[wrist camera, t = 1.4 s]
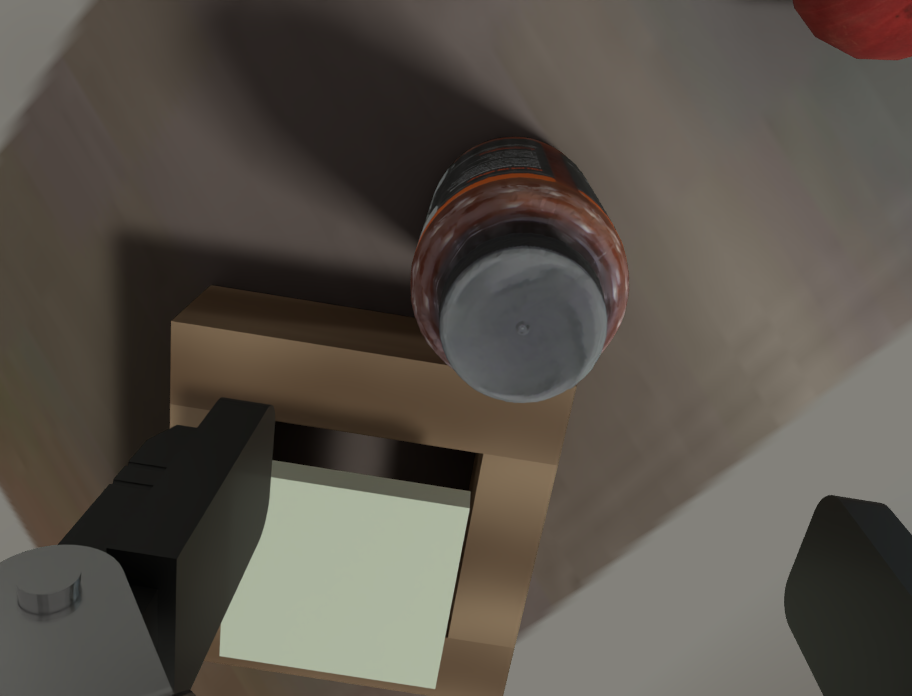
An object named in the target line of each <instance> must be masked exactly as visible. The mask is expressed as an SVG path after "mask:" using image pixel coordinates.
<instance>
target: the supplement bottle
mask: <svg viewBox="0 0 912 696" xmlns="http://www.w3.org/2000/svg"><path fill="white" fill-rule="evenodd" d="M628 295H629V272H628V265H627V260H626V255H625V251H624V248H623V244H622V242H621V239H620V237H619V235H618V234H617V232H616V229H615V227H614V226H613V224H612V222H611V220H610V218H609V217H608V215H607V213H606V212H605V210H604V209H603V206H602V205H601V203H600V202H599V200H598V198H597V196H596V195H595V193H594V191H593V190H592V188H591V187H590V185H589V183H588V181H587V180H586V178H585V177H584V175H583V173H582V172H581V171H580V170H579V169H578V167H577V166H576V164H574V163H573V162H572V161H571V160H570V159H568V158H567V157H566V156H565V155H564V154H563V153H562V152H560V151H558V150H557V149H555V148H554V147H552V146H550V145H548V144H545V143H543V142H540V141H538V140H535V139H531V138H525V137H504V138H498V139H493V140H490V141H487V142H484V143H481V144H479V145H477V146H475V147H473V148H471V149H469V150H468V151H466V152H465V153H464V154H463V155H461V156H460V157H459V158H458V159H457V160H456V161H455V162H454V163H453V164H452V165H451V166H450V167H449V169H448V170H447V171H446V173H445V174H444V176H443V177H442V179H441V180H440V182H439V184H438V186H437V188H436V190H435V193H434V196H433V199H432V202H431V205H430V208H429V211H428V213H427V217H426V220H425V223H424V226H423V229H422V232H421V234H420V238H419V242H418V245H417V248H416V252H415V255H414V258H413V262H412V268H411V303H412V307H413V311H414V316H415V318H416V320H417V324H418V326H419V328H420V332H421V333H422V335H423V336H424V338H425V340H426V342H427V343H428V345H429V346H430V347H431V348H432V349H433V350H434V352H435V353H436V354H437V355H438V356H439V357H440V358H441V359H442V360H443V361H444V362H445V363H446V364H447V365H448V366H450V367H451V368H452V369H453V370H454V371H455V372H456V373H457V375H458V376H459V377H460V378H461V379H462V380H464V381H465V382H466V383H467V384H468V385H469V386H471V387H472V388H473V389H475V390H476V391H478V392H480V393H482V394H484V395H486V396H489V397H492V398H495V399H498V400H503V401H505V402H513V403H529V402H539V401H543V400H546V399H549V398H552V397H554V396H556V395H559V394H561V393H563V392H565V391H566V390H568V389H571V388H573V387H574V386H575V385H576V384H577V383H578V382H579V381H580V380H582V379H583V378H584V377H585V376H586V375H587V374H588V373H589V372H590V371H591V369H592V368H593V366H594V364H595V363H596V361H597V360H598V358H599V356H600V354H601V353H602V352H603V351H604V349H605V348H606V347H607V345H608V344H609V343H610V341H611V340H612V338H613V337H614V335H615V333H616V332H617V330H618V328H619V326H620V324H621V322H622V319H623V316H624V314H625V310H626V305H627V300H628Z"/></svg>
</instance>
